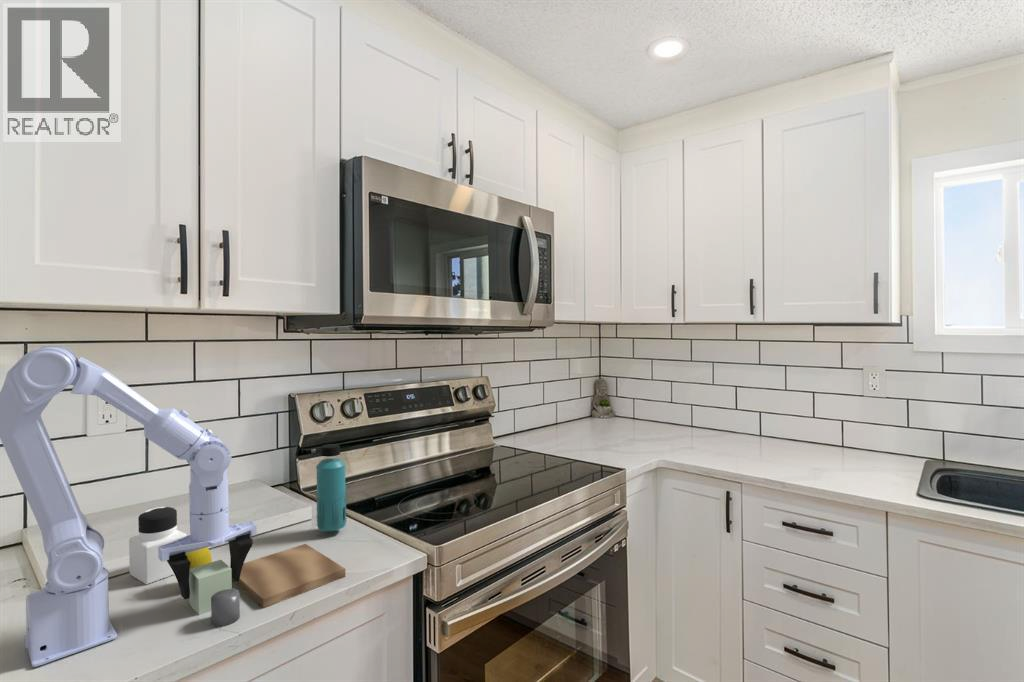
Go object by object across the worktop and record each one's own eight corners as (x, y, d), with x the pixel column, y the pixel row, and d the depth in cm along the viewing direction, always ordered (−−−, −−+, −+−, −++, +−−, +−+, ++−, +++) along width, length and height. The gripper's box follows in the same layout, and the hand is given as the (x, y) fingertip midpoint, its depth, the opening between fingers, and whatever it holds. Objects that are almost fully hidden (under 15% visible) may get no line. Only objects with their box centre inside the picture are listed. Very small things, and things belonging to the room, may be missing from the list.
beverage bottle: (347, 535, 117) (347, 447, 117) (316, 540, 115) (315, 449, 114) (345, 525, 123) (345, 440, 123) (315, 529, 121) (315, 443, 120)
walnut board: (263, 608, 88) (263, 599, 88) (228, 576, 99) (228, 568, 98) (345, 576, 99) (345, 568, 99) (305, 550, 110) (305, 543, 109)
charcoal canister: (216, 630, 81) (216, 604, 81) (207, 619, 84) (207, 595, 84) (243, 619, 84) (243, 595, 84) (234, 609, 87) (233, 586, 87)
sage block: (199, 615, 86) (198, 579, 85) (189, 604, 89) (188, 569, 89) (232, 603, 89) (231, 568, 89) (221, 592, 93) (220, 559, 92)
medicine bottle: (188, 570, 101) (187, 508, 100) (146, 585, 95) (144, 520, 94) (170, 560, 105) (169, 501, 104) (129, 574, 99) (127, 511, 98)
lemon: (195, 595, 92) (194, 550, 91) (168, 591, 93) (167, 547, 92) (219, 580, 97) (218, 537, 97) (193, 577, 98) (192, 534, 98)
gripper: (166, 527, 80) (168, 614, 81) (263, 503, 91) (264, 580, 92) (153, 516, 85) (155, 598, 86) (247, 494, 96) (248, 567, 96)
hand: (211, 588), depth 89 cm, fingers open, 7 cm apart
